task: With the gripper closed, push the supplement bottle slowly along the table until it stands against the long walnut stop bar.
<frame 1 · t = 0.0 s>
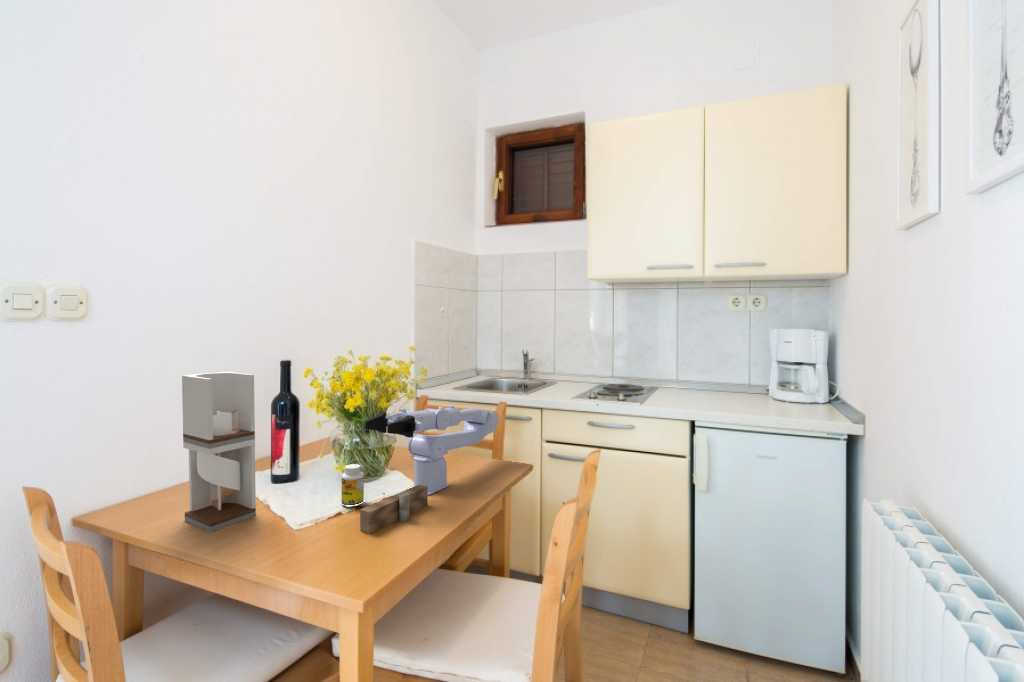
hand: (377, 426, 120), 22 cm above the table, tool horizontal, fingers open, 7 cm apart
white tower model: (220, 519, 116), on the table
stop bar: (396, 517, 118), on the table
supplement bottle: (352, 505, 126), on the table
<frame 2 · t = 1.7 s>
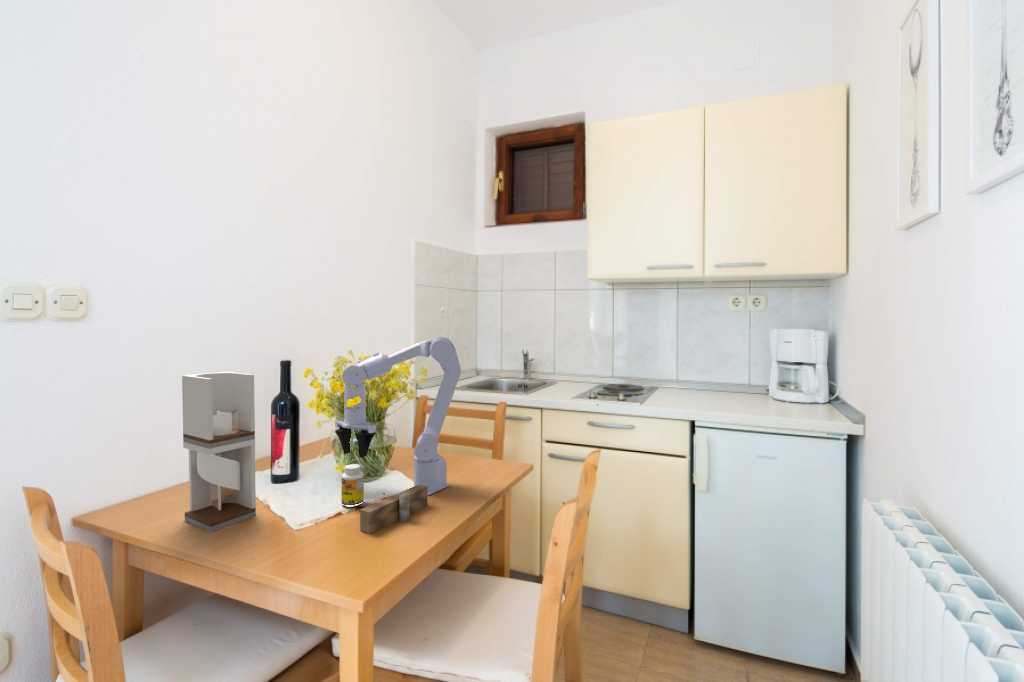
hand: (355, 454, 135), 10 cm above the table, tool pointing down, fingers open, 6 cm apart
nothing on the table moved.
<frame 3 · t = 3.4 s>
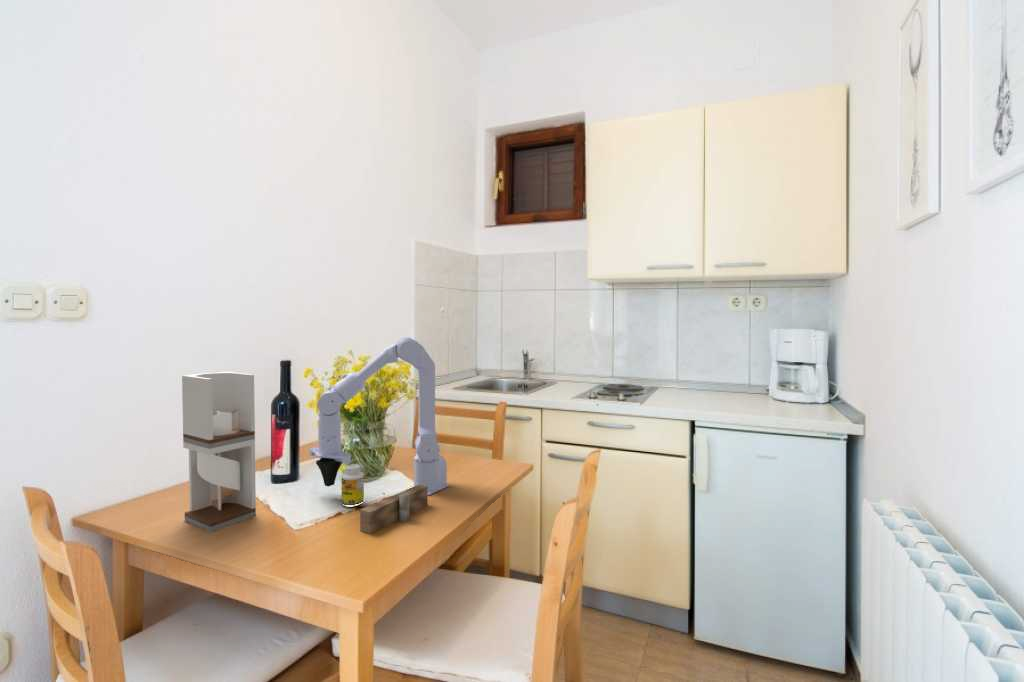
hand: (329, 485, 130), 3 cm above the table, tool pointing down, fingers closed
nothing on the table moved.
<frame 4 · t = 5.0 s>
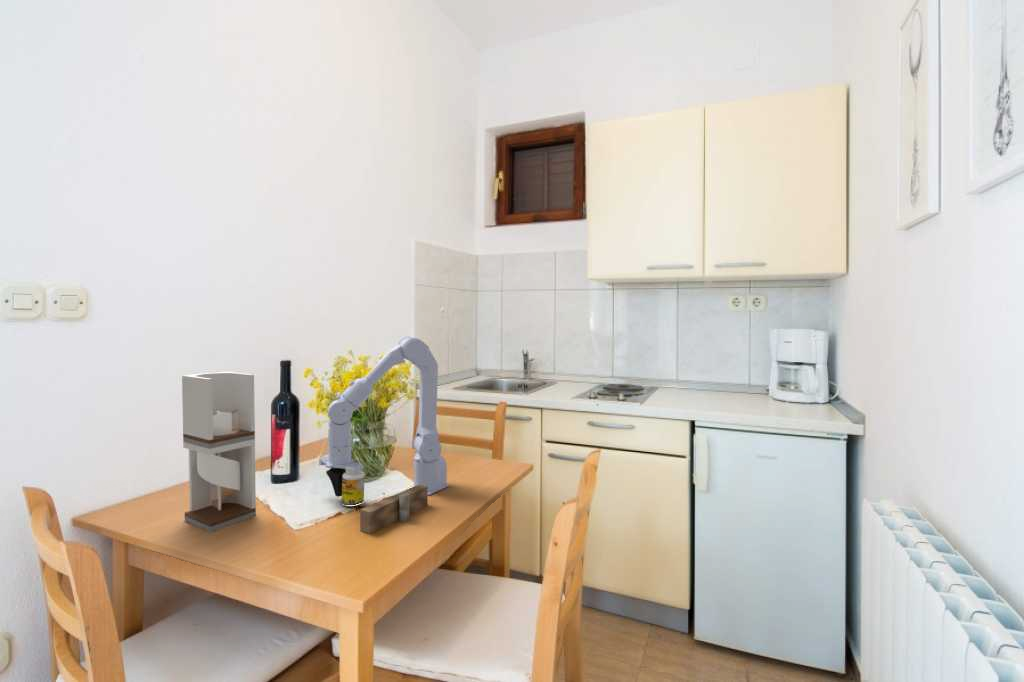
hand: (340, 495, 128), 1 cm above the table, tool pointing down, fingers closed
supplement bottle: (352, 504, 126), on the table, touching gripper
everything else where it was.
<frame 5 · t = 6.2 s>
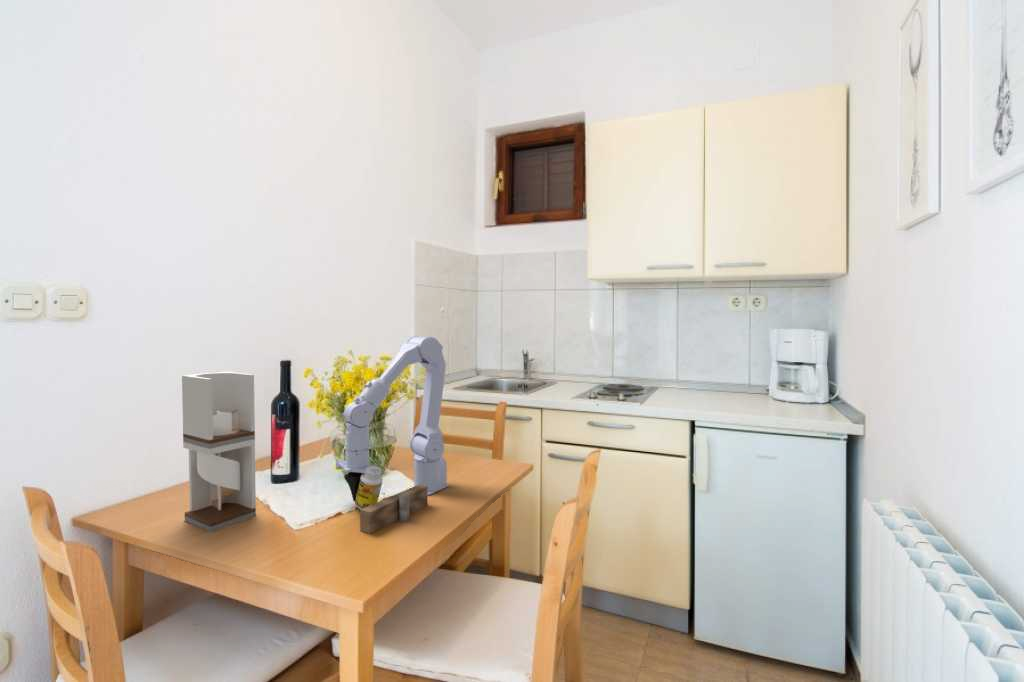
hand: (357, 500, 124), 2 cm above the table, tool pointing down, fingers closed, pressing on supplement bottle
supplement bottle: (365, 506, 123), point 1 cm above the table, touching gripper
everything else where it was.
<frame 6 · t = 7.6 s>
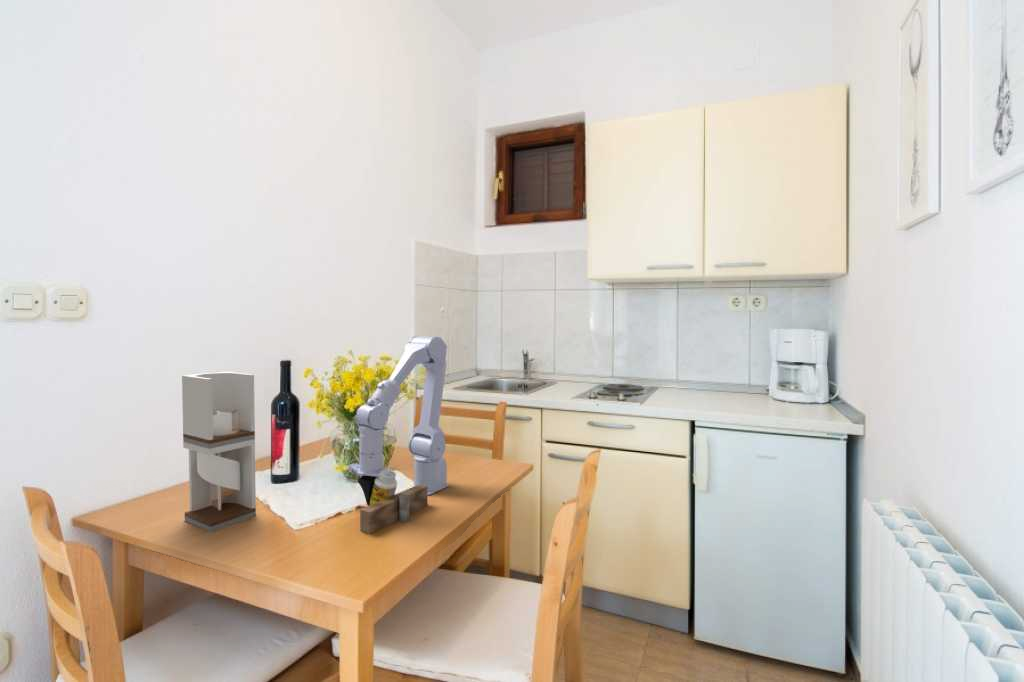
hand: (371, 504, 122), 1 cm above the table, tool pointing down, fingers closed
supplement bottle: (379, 510, 121), point 1 cm above the table, touching gripper, stop bar
everything else where it was.
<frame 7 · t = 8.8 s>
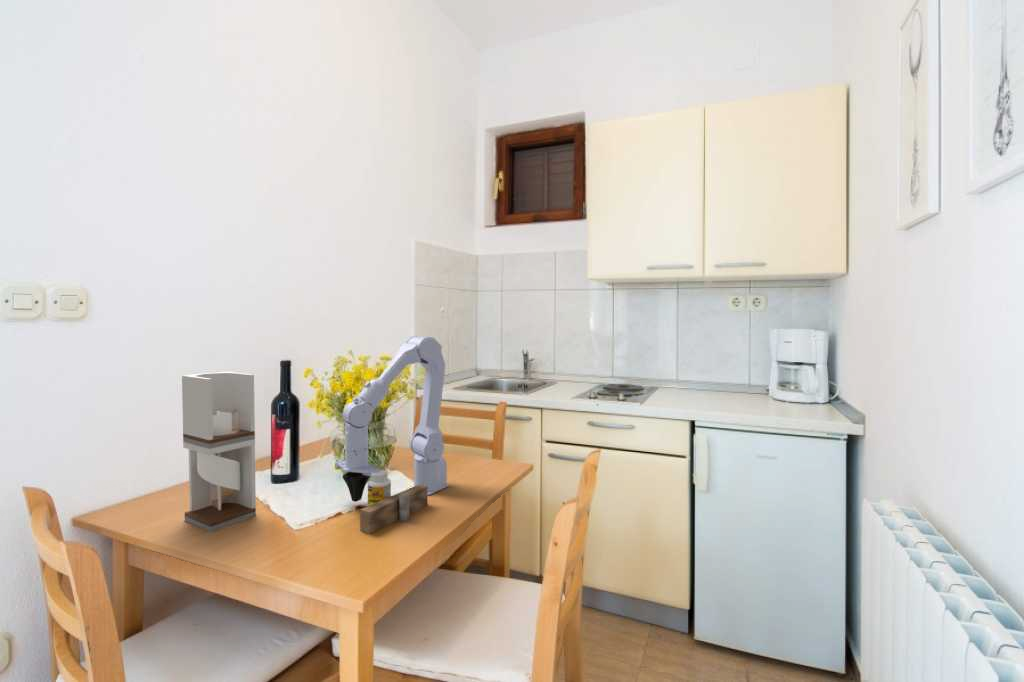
hand: (356, 500, 125), 1 cm above the table, tool pointing down, fingers closed
supplement bottle: (379, 513, 121), on the table
everything else where it was.
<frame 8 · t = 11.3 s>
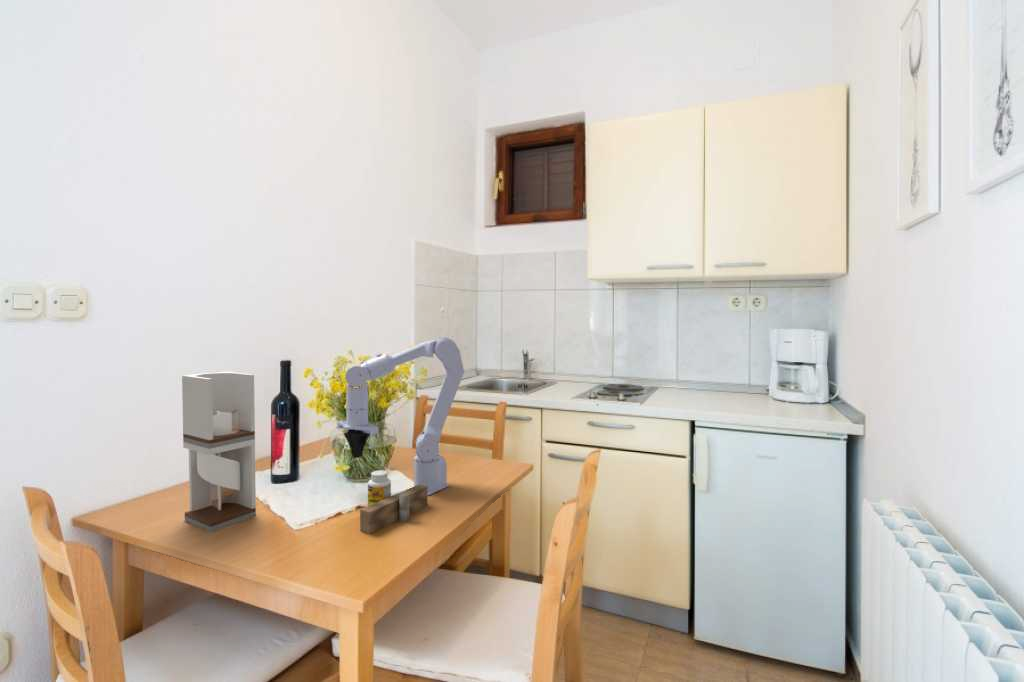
hand: (357, 456, 133), 10 cm above the table, tool pointing down, fingers closed
nothing on the table moved.
at the end: supplement bottle 0.7 cm from the target spot, on the table; supplement bottle tilted 0°; supplement bottle moved 9.8 cm from its start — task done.
